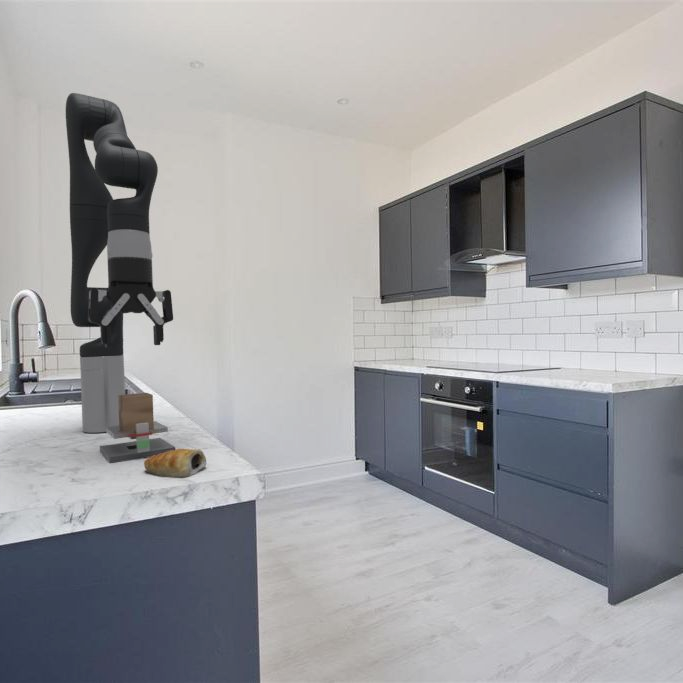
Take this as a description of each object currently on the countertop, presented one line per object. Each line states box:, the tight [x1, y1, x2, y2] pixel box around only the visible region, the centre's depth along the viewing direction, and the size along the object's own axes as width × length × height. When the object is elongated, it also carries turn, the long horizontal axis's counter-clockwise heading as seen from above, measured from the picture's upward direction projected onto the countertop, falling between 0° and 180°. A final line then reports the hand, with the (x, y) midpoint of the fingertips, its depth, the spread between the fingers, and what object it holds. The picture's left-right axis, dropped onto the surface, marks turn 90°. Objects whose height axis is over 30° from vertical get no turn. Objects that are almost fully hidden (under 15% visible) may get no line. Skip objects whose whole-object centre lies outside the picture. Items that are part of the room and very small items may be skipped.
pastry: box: [143, 448, 207, 478], centre depth 77 cm, size 9×7×4 cm
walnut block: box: [118, 392, 155, 431], centre depth 91 cm, size 5×5×6 cm
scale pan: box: [105, 420, 169, 440], centre depth 90 cm, size 11×9×2 cm
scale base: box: [99, 423, 177, 464], centre depth 91 cm, size 11×11×6 cm
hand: (133, 346), depth 90 cm, fingers open, 8 cm apart
